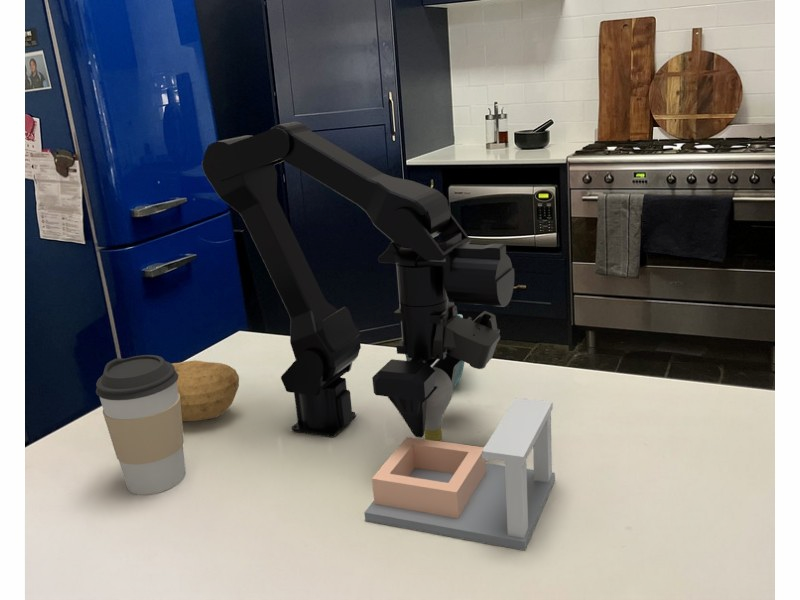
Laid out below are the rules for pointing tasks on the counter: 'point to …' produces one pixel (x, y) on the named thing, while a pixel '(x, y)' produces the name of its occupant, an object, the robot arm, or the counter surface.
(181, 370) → the potato
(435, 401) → the light bulb
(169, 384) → the coffee cup
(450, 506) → the socket stand
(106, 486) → the counter surface
